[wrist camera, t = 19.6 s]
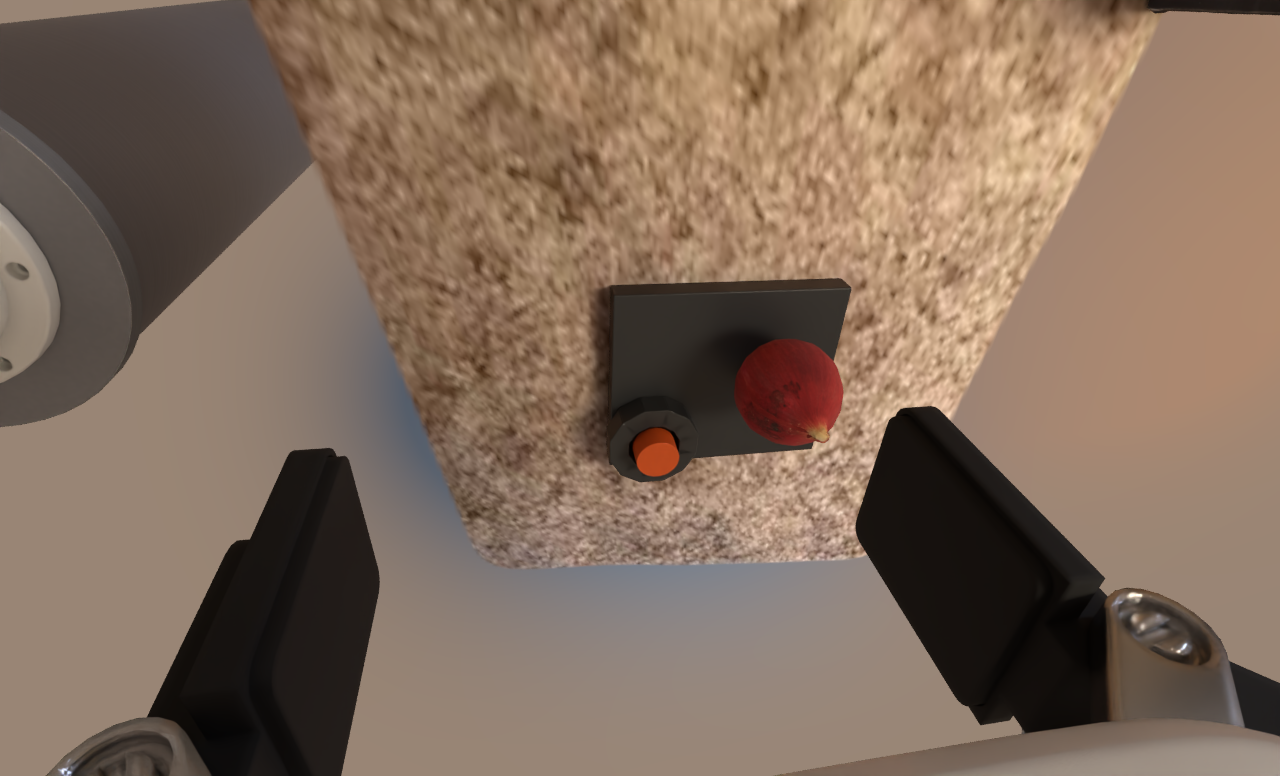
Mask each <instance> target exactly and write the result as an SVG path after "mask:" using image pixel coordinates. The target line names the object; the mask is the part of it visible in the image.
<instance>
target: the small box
mask: <svg viewBox="0 0 1280 776" xmlns="http://www.w3.org/2000/svg"><path fill="white" fill-rule="evenodd" d="M1147 8H1148V9H1149V10H1150V11H1152V12H1154V13H1165V12H1167V11H1189V12H1211V13H1228V14H1260V15H1280V0H1149V2H1148V6H1147Z"/></svg>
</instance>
